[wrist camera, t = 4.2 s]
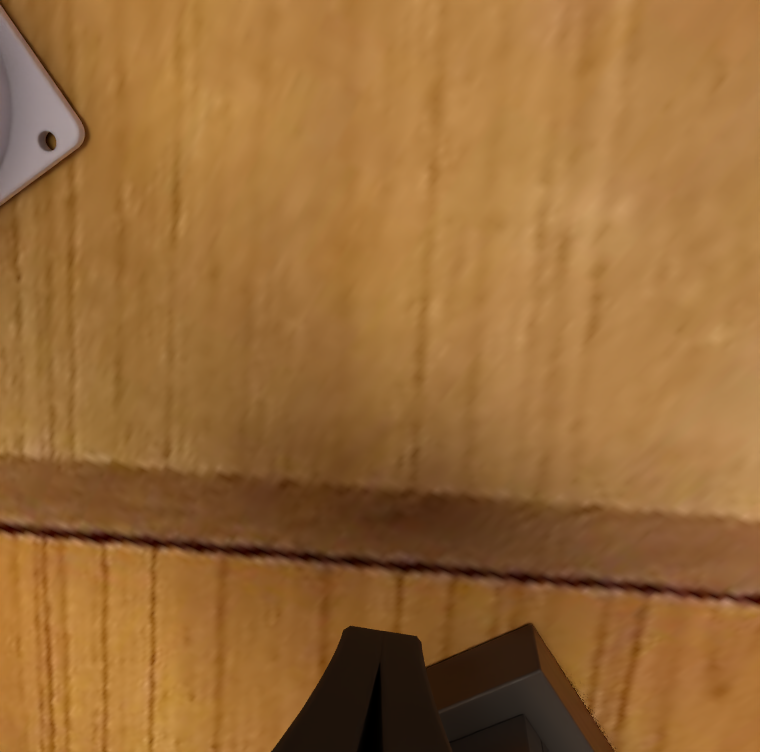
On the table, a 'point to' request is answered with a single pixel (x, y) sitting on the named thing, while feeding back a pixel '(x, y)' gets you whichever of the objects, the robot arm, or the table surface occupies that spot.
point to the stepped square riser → (511, 700)
